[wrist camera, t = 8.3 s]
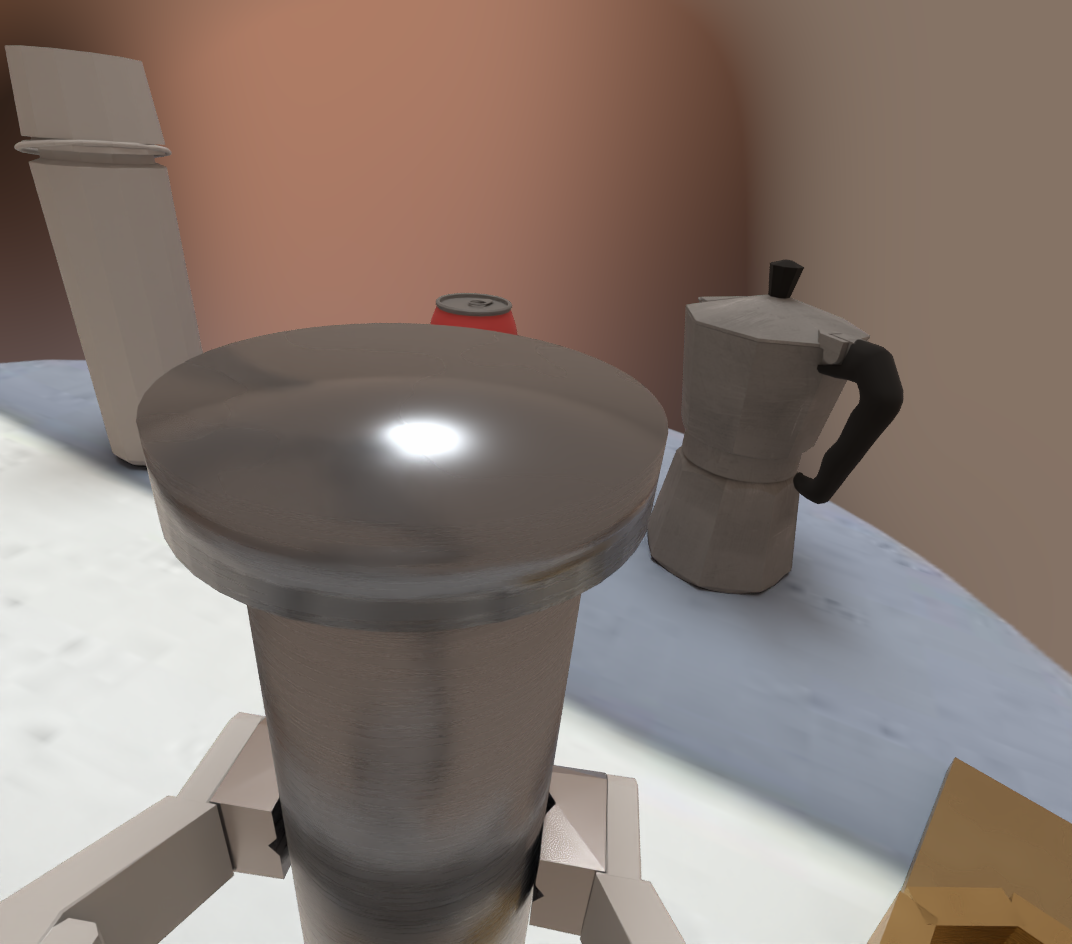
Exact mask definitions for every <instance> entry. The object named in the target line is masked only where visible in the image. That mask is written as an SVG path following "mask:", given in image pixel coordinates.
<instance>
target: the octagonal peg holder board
mask: <svg viewBox="0 0 1072 944" xmlns="http://www.w3.org/2000/svg"><path fill="white" fill-rule="evenodd" d="M867 944H1072V824H1071V823H1069V822H1068V821H1066V820H1064V819H1062V818H1061V817H1059V816H1057V815H1055V814H1054V813H1052V812H1050V811H1048V810H1047V809H1045V808H1043V807H1041V806H1040V805H1038V804H1036V803H1034V802H1033V801H1031V800H1029V799H1027V798H1026V797H1024V796H1022V795H1020V794H1019V793H1017V792H1015V791H1013V790H1012V789H1010V788H1008V787H1006V786H1005V785H1003V784H1001V783H999V782H998V781H996V780H994V779H992V778H991V777H989V776H987V775H985V774H984V773H982V772H980V771H978V770H977V769H975V768H973V767H971V766H970V765H968V764H966V763H964V762H963V761H961V760H959V759H957V758H956V757H955V758H954V760H953V761H952V763H951V765H950V767H949V768H948V770H947V773H946V775H945V778H944V780H943V783H942V786H941V788H940V791H939V793H938V796H937V799H936V801H935V804H934V806H933V809H932V812H931V814H930V817H929V819H928V822H927V825H926V827H925V830H924V832H923V835H922V838H921V840H920V843H919V845H918V848H917V850H916V853H915V856H914V858H913V861H912V863H911V866H910V869H909V871H908V874H907V876H906V879H905V882H904V884H903V887H902V889H901V891H900V892H899V893H898V895H897V896H896V898H895V899H894V901H893V903H892V904H891V906H890V907H889V909H888V911H887V912H886V914H885V915H884V917H883V919H882V920H881V922H880V923H879V925H878V926H877V928H876V930H875V931H874V933H873V934H872V936H871V938H870V939H869V941H868V942H867Z"/></svg>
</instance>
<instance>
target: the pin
mask: <svg viewBox="0 0 1072 944" xmlns="http://www.w3.org/2000/svg"><path fill="white" fill-rule="evenodd" d="M136 424H137V428H138V432H139V436H140V441H141V445H142V449H143V453H144V457H145V462H146V466H147V470H148V474H149V479H150V483H151V487H152V491H153V495H154V500H155V504H156V508H157V512H158V517H159V521H160V524H161V528H162V531H163V535H164V539H165V540H166V542H167V543H168V545H169V547H170V548H171V550H172V552H173V553H174V555H175V556H176V558H177V559H178V560H179V561H180V562H181V563H182V564H183V565H184V566H185V567H186V568H187V569H188V570H189V571H190V572H191V573H192V574H193V575H195V576H196V577H198V578H199V579H201V580H202V581H203V582H205V583H206V584H208V585H209V586H211V587H212V588H214V589H215V590H217V591H218V592H220V593H222V594H224V595H227V596H229V597H231V598H233V599H235V600H237V601H239V602H242V603H244V604H246V605H247V609H248V615H249V620H250V626H251V632H252V638H253V644H254V650H255V656H256V662H257V667H258V673H259V679H260V685H261V691H262V697H263V703H264V709H265V715H266V720H267V726H268V732H269V738H270V744H271V750H272V756H273V762H274V768H275V773H276V779H277V785H278V791H279V797H280V803H281V809H282V815H283V821H284V826H285V832H286V838H287V844H288V850H289V856H290V862H291V868H292V874H293V879H294V885H295V891H296V897H297V903H298V909H299V915H300V921H301V927H302V932H303V938H304V944H525V938H526V932H527V925H528V919H529V913H530V907H531V901H532V894H533V885H534V878H535V872H536V865H537V860H538V855H539V846H540V840H541V834H542V828H543V822H544V818H545V814H546V808H547V802H548V795H549V789H550V783H551V777H552V771H553V764H554V758H555V752H556V746H557V740H558V733H559V727H560V721H561V715H562V709H563V702H564V696H565V690H566V684H567V678H568V671H569V665H570V659H571V653H572V647H573V641H574V634H575V628H576V622H577V616H578V610H579V603H580V597H581V593H583V592H585V591H587V590H589V589H590V588H592V587H594V586H596V585H598V584H599V583H601V582H602V581H603V580H605V579H606V578H607V577H609V576H610V575H611V574H613V573H614V572H615V571H616V570H618V569H619V568H620V567H621V566H622V565H623V564H624V563H625V562H626V561H627V560H628V559H629V558H630V556H631V555H632V554H633V553H634V552H635V551H636V549H637V548H638V546H639V544H640V543H641V541H642V539H643V537H644V536H645V534H646V530H647V527H648V523H649V520H650V516H651V511H652V506H653V502H654V497H655V492H656V488H657V483H658V478H659V473H660V469H661V464H662V459H663V455H664V450H665V445H666V441H667V436H668V420H667V418H666V415H665V412H664V409H663V408H662V406H661V404H660V403H659V402H658V400H657V399H656V397H655V396H654V395H653V394H652V393H651V392H650V391H649V390H648V389H647V388H646V387H645V386H643V385H642V384H641V383H639V382H638V381H637V380H635V379H634V378H632V377H631V376H630V375H628V374H626V373H624V372H623V371H621V370H619V369H617V368H615V367H614V366H611V365H609V364H607V363H605V362H603V361H601V360H599V359H596V358H594V357H591V356H589V355H586V354H583V353H581V352H578V351H575V350H572V349H569V348H566V347H563V346H559V345H556V344H552V343H548V342H544V341H541V340H537V339H532V338H528V337H523V336H518V335H513V334H508V333H502V332H497V331H490V330H482V329H475V328H467V327H457V326H446V325H432V324H409V323H408V324H407V323H371V324H370V323H369V324H347V325H334V326H322V327H313V328H305V329H297V330H291V331H284V332H278V333H273V334H268V335H263V336H259V337H254V338H250V339H246V340H242V341H239V342H235V343H231V344H228V345H225V346H222V347H219V348H216V349H213V350H210V351H207V352H205V353H203V354H200V355H198V356H196V357H193V358H191V359H189V360H187V361H185V362H183V363H181V364H180V365H178V366H176V367H174V368H172V369H171V370H169V371H168V372H167V373H165V374H164V375H163V376H161V377H160V378H159V379H157V380H156V381H155V382H154V383H153V384H152V385H151V387H150V388H149V389H148V390H147V391H146V392H145V393H144V395H143V397H142V399H141V401H140V403H139V405H138V408H137V417H136Z"/></svg>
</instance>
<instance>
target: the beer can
mask: <svg viewBox="0 0 1072 944" xmlns="http://www.w3.org/2000/svg"><path fill="white" fill-rule="evenodd" d="M436 305H437V306H436V309H435V312H434V314H433V317H432V319H431V324H432V325H446V326H457V327H467V328H475V329H482V330H490V331H497V332H502V333H508V334H513V335H517V329H516V324H515V321H514V318H513V315H512V312H511V308H512V304H511V302H510V301H508V300H506V299H504V298H501V297H498V296H493V295H487V294H477V293H456V294H448V295H444V296H441V297H439V298H438V299H437V300H436Z"/></svg>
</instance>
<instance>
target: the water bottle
mask: <svg viewBox="0 0 1072 944" xmlns="http://www.w3.org/2000/svg"><path fill="white" fill-rule="evenodd" d="M5 49H6V54H7V60H8V65H9V71H10V76H11V81H12V87H13V93H14V98H15V104H16V109H17V114H18V120H19V125H20V131H21V135H23V136H31V140H24V141H21V142H19V143H17V144H16V145H15V149H16V150H18V151H21V152H24V153H31V154H38V155H40V158H39V159H36V160H33V161H30V162H29V164H30V168H31V171H32V175H33V178H34V182H35V185H36V189H37V192H38V195H39V199H40V203H41V206H42V209H43V213H44V216H45V220H46V223H47V227H48V230H49V233H50V237H51V241H52V244H53V248H54V251H55V255H56V258H57V261H58V265H59V268H60V272H61V275H62V278H63V282H64V286H65V289H66V293H67V296H68V299H69V303H70V306H71V310H72V313H73V317H74V320H75V324H76V327H77V331H78V334H79V338H80V341H81V344H82V348H83V351H84V355H85V358H86V362H87V365H88V369H89V372H90V376H91V379H92V383H93V386H94V390H95V393H96V397H97V400H98V403H99V407H100V410H101V414H102V417H103V421H104V424H105V428H106V431H107V435H108V438H109V442H110V445H111V448H112V452H113V453H114V454H115V455H116V456H118V457H119V458H121V459H123V460H125V461H127V462H129V463H131V464H133V465H146V462H145V457H144V453H143V449H142V445H141V441H140V436H139V432H138V428H137V424H136V417H137V408H138V405H139V403H140V401H141V399H142V397H143V395H144V393H145V392H146V391H147V390H148V389H149V388H150V387H151V385H152V384H153V383H154V382H155V381H156V380H157V379H159V378H160V377H161V376H163V375H164V374H165V373H167V372H168V371H169V370H171V369H172V368H174V367H176V366H178V365H180V364H181V363H183V362H185V361H187V360H189V359H191V358H193V357H196V356H198V355H200V354H203V352H202V347H201V342H200V337H199V332H198V326H197V321H196V316H195V311H194V306H193V301H192V295H191V290H190V285H189V280H188V275H187V270H186V265H185V260H184V254H183V249H182V244H181V239H180V234H179V229H178V223H177V218H176V213H175V208H174V203H173V198H172V192H171V188H170V182H169V177H168V172H167V168H166V167H165V166H163V165H160V164H158V163H155V160H154V158H155V157H164V156H168V155H171V151H170V150H169V149H168V148H165V147H161V146H157V145H154V144H165V142H164V138H163V135H162V131H161V128H160V124H159V121H158V117H157V114H156V110H155V107H154V103H153V100H152V96H151V93H150V89H149V86H148V82H147V79H146V75H145V72H144V68H143V65H142V62H141V61H137V60H133V59H128V58H123V57H117V56H110V55H103V54H97V53H89V52H81V51H73V50H64V49H55V48H44V47H32V46H5ZM33 148H36V149H33Z"/></svg>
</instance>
